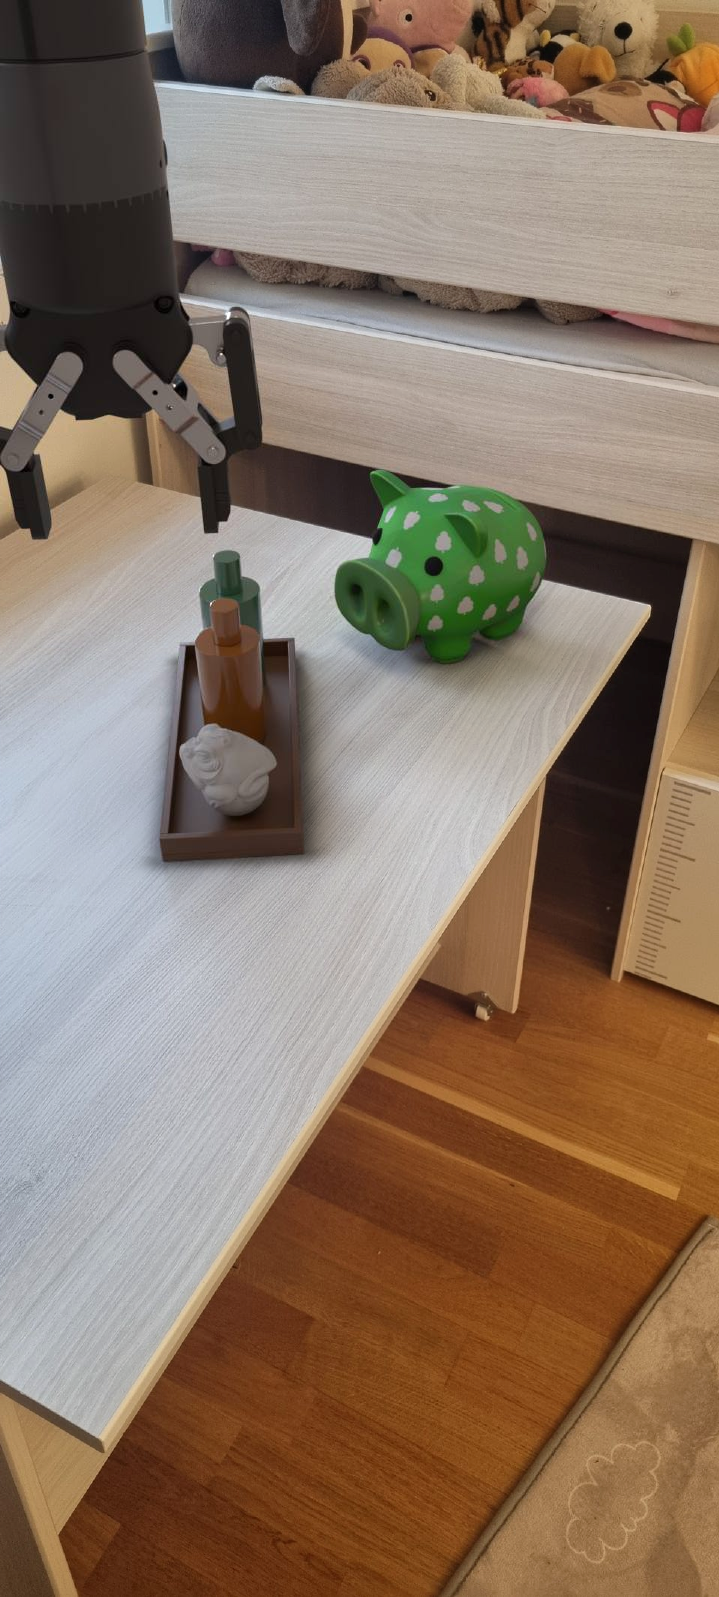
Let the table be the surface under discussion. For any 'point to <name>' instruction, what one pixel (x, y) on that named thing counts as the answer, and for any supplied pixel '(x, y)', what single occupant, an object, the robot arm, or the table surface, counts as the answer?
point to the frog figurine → (228, 769)
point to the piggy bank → (443, 568)
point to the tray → (279, 817)
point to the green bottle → (234, 595)
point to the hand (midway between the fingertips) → (128, 530)
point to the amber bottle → (231, 672)
